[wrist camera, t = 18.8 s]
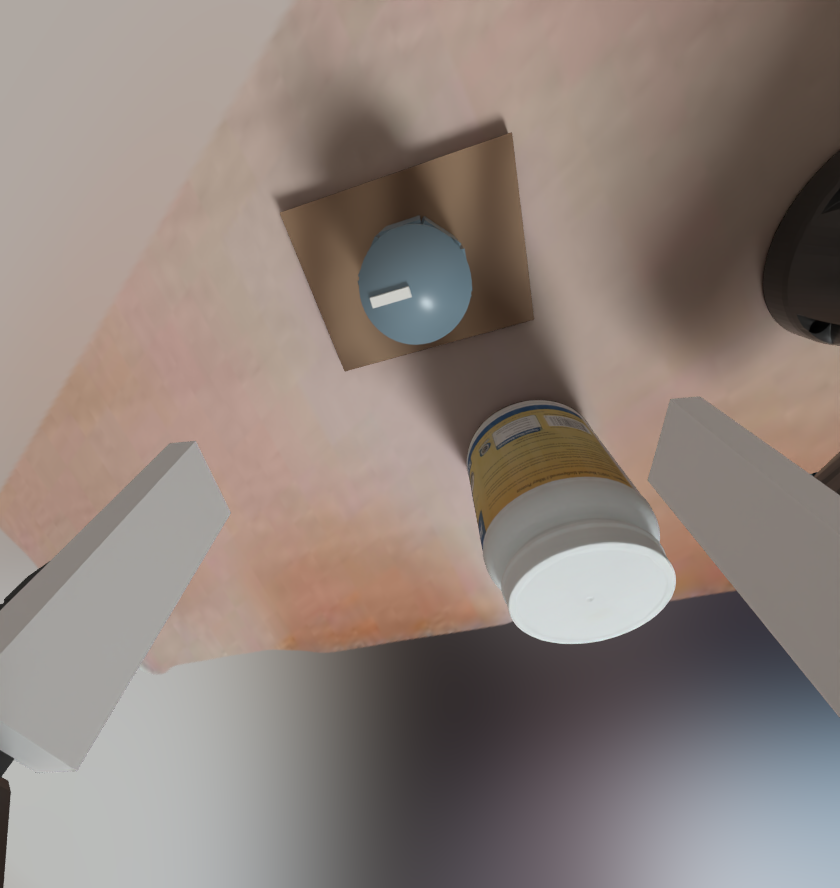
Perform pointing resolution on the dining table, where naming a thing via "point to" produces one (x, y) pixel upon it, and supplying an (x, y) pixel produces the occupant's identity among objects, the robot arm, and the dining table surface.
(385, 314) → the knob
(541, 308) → the dining table surface
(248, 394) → the dining table surface
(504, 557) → the supplement tub
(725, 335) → the dining table surface
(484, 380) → the dining table surface
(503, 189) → the stud board
